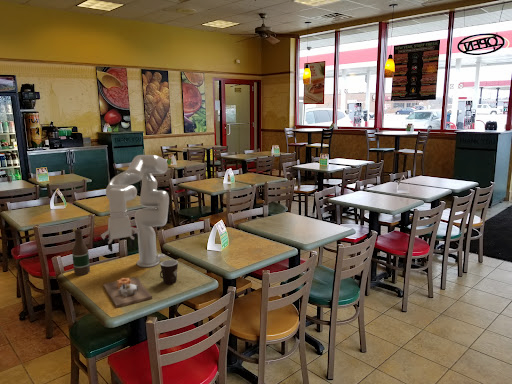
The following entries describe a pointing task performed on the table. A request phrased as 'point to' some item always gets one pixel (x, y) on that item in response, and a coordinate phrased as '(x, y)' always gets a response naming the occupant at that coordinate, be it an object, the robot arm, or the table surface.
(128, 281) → the terracotta gear
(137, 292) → the gear board
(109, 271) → the table surface
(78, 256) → the beer bottle
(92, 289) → the table surface
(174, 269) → the coffee mug
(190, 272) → the table surface
